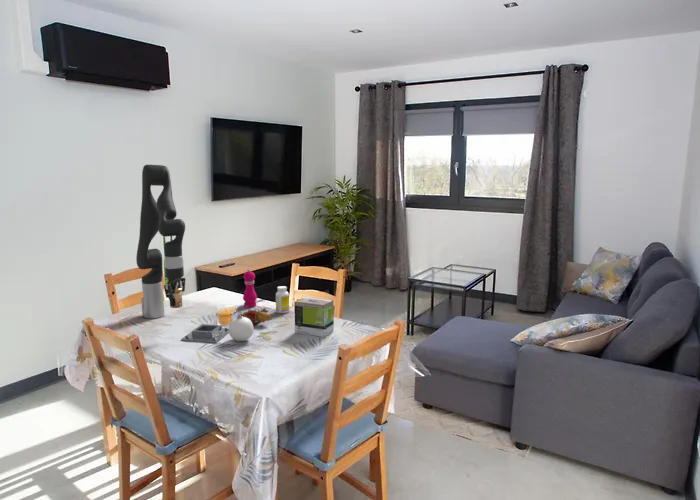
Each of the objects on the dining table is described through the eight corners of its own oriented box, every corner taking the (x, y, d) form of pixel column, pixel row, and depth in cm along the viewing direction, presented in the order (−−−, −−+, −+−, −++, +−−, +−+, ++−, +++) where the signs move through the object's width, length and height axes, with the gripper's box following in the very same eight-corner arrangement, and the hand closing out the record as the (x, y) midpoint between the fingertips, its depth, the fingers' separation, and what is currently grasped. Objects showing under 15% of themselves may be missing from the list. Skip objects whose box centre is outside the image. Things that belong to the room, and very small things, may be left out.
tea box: (334, 330, 223) (334, 299, 221) (323, 338, 214) (323, 305, 212) (305, 326, 230) (304, 295, 227) (294, 332, 221) (293, 300, 218)
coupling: (181, 340, 211) (180, 333, 210) (198, 328, 226) (198, 321, 226) (216, 343, 208) (216, 335, 207) (231, 330, 223) (231, 323, 223)
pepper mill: (255, 307, 258) (254, 270, 254) (241, 307, 258) (240, 270, 254) (258, 303, 265) (257, 267, 261) (245, 303, 265) (243, 267, 261)
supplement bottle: (291, 310, 253) (291, 286, 251) (285, 314, 247) (285, 289, 245) (279, 309, 255) (279, 285, 253) (273, 312, 249) (273, 288, 247)
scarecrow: (240, 330, 224) (239, 314, 222) (237, 319, 239) (236, 303, 238) (277, 326, 229) (277, 310, 227) (272, 316, 244) (272, 300, 242)
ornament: (232, 346, 204) (231, 318, 202) (226, 338, 213) (225, 311, 211) (256, 342, 209) (255, 315, 207) (249, 334, 218) (248, 308, 216)
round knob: (166, 307, 212) (165, 289, 210) (173, 304, 217) (172, 286, 215) (179, 308, 211) (178, 290, 209) (185, 304, 216) (184, 287, 215)
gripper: (174, 262, 218) (176, 299, 221) (156, 269, 204) (159, 308, 207) (190, 262, 217) (192, 300, 220) (173, 270, 203) (175, 310, 206)
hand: (176, 304), depth 214 cm, fingers closed on round knob, 5 cm apart
